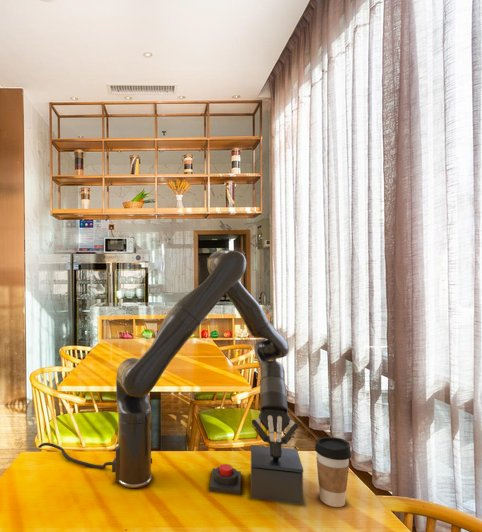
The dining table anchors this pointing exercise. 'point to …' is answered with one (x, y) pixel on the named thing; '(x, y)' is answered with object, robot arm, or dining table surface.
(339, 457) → the coffee cup
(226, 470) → the button
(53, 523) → the dining table surface
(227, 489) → the block
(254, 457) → the lid
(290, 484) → the dark grey lidded box
